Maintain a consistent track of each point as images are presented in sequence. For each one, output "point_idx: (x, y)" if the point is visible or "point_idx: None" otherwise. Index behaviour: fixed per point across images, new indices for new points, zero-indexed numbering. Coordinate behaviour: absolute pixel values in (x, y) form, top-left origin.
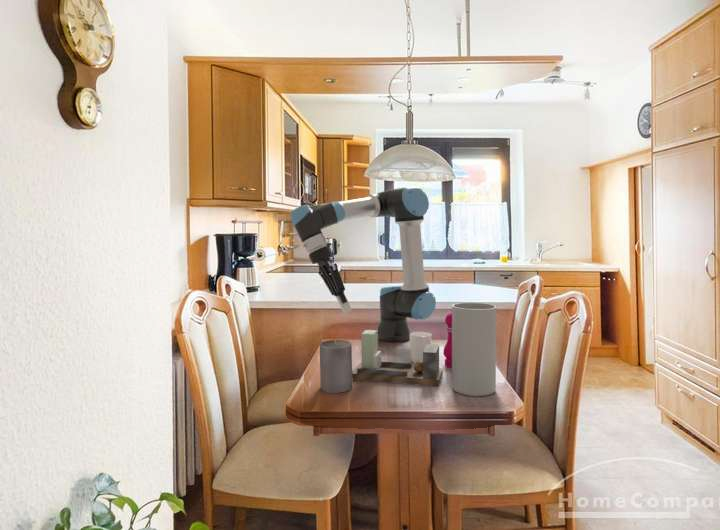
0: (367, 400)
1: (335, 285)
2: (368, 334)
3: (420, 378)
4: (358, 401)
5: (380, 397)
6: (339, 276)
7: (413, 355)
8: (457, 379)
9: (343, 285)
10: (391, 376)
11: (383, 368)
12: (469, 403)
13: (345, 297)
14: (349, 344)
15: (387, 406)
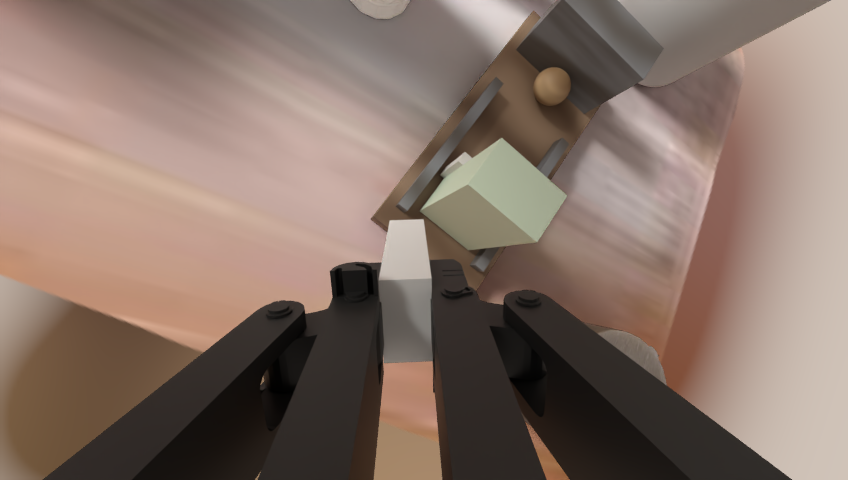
0: (621, 306)
1: (557, 447)
2: (554, 214)
3: (587, 124)
4: (620, 329)
5: (615, 268)
6: (720, 448)
7: (392, 3)
8: (682, 73)
9: (579, 325)
10: None
11: None
12: (701, 106)
13: (427, 262)
14: (644, 346)
15: (664, 277)
